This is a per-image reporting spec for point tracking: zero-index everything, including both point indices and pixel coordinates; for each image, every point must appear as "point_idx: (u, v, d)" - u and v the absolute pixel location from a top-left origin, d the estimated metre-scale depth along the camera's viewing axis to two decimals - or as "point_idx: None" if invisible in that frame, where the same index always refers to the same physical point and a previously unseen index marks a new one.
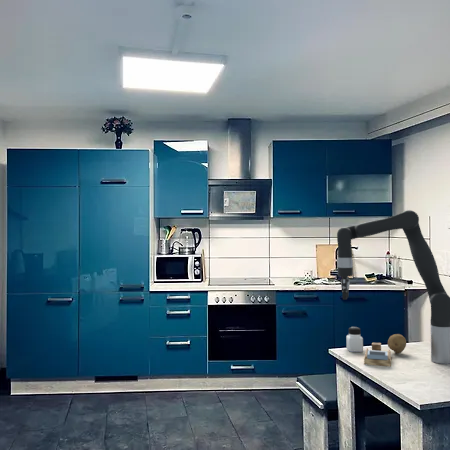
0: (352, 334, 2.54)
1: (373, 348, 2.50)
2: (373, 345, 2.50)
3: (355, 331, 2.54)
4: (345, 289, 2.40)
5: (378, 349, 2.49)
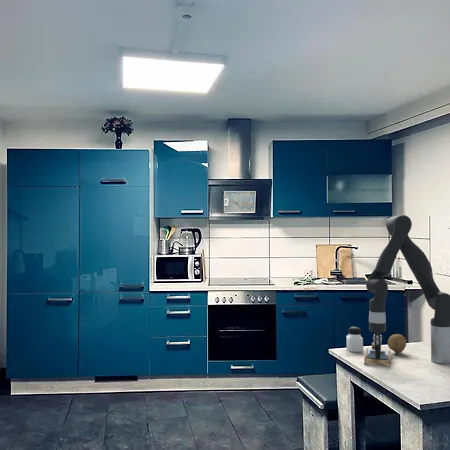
0: (352, 334, 2.54)
1: (373, 348, 2.50)
2: (373, 345, 2.50)
3: (355, 331, 2.54)
4: (379, 348, 2.24)
5: None
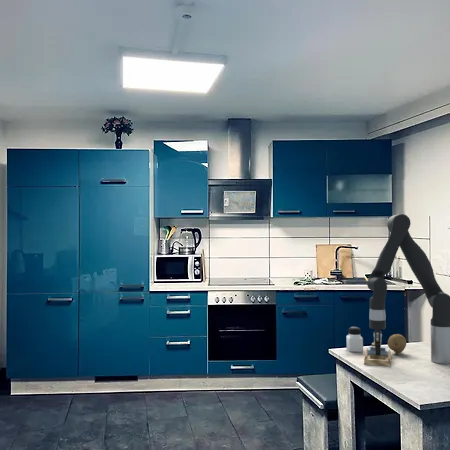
0: (352, 334, 2.54)
1: None
2: (373, 345, 2.50)
3: (355, 331, 2.54)
4: (379, 345, 2.30)
5: None
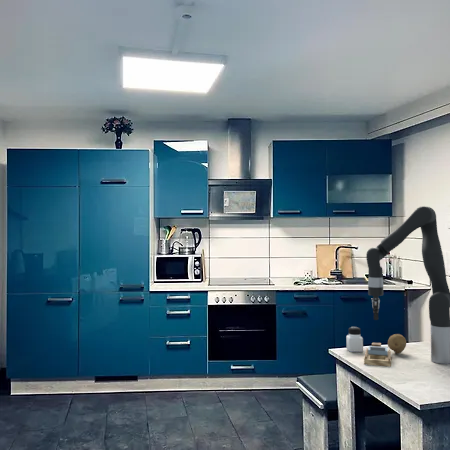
0: (352, 334, 2.54)
1: None
2: (373, 345, 2.50)
3: (355, 331, 2.54)
4: (377, 310, 2.48)
5: None
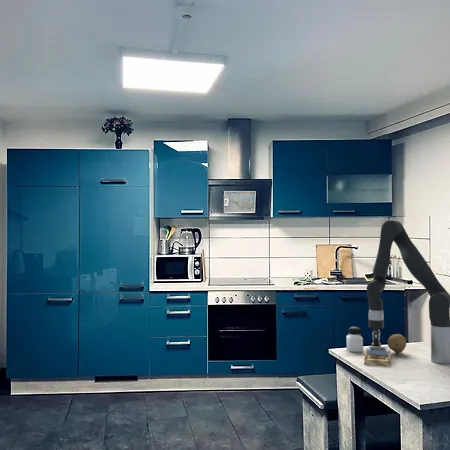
0: (352, 334, 2.54)
1: None
2: (373, 345, 2.50)
3: (355, 331, 2.54)
4: (377, 343, 2.47)
5: None
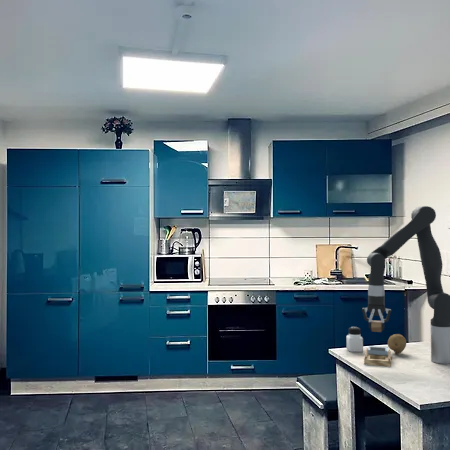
0: (352, 334, 2.54)
1: None
2: None
3: (355, 331, 2.54)
4: (365, 318, 2.34)
5: None
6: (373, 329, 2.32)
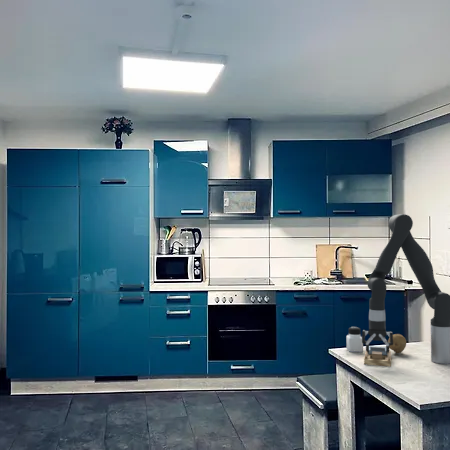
0: (352, 334, 2.54)
1: None
2: (372, 352, 2.34)
3: (355, 331, 2.54)
4: (362, 341, 2.33)
5: (372, 358, 2.32)
6: None
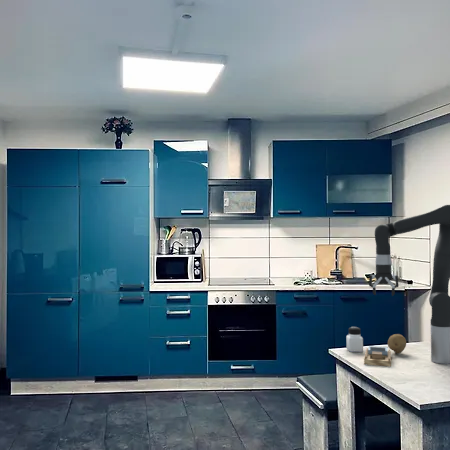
0: (352, 334, 2.54)
1: None
2: (372, 352, 2.34)
3: (355, 331, 2.54)
4: (369, 284, 2.49)
5: (372, 358, 2.32)
6: None
